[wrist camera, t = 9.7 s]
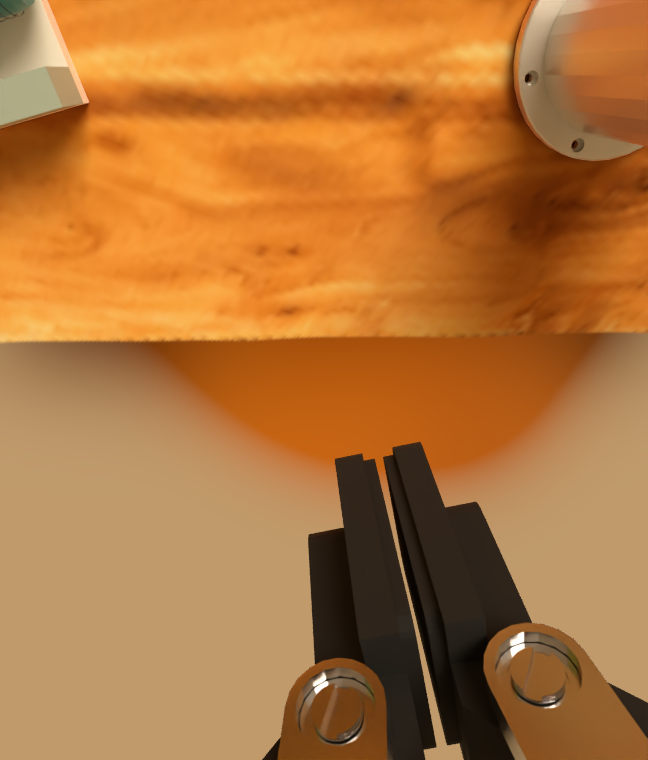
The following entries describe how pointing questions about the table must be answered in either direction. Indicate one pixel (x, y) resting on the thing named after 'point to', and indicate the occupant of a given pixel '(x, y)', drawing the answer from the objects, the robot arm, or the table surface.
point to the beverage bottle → (13, 7)
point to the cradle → (35, 67)
